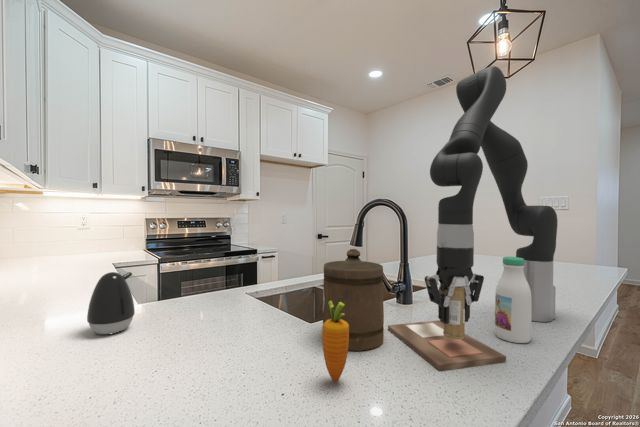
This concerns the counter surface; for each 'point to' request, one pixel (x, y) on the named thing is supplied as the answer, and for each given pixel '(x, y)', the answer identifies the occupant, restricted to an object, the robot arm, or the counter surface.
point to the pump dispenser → (111, 304)
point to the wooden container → (356, 299)
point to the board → (444, 346)
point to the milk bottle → (513, 303)
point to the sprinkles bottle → (456, 312)
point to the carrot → (335, 342)
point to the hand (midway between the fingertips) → (453, 321)
